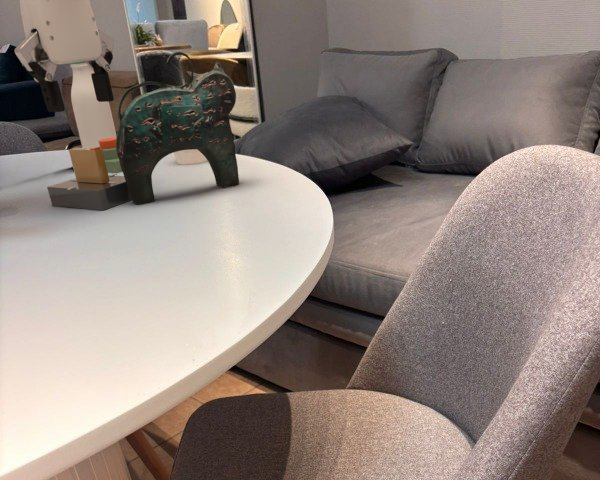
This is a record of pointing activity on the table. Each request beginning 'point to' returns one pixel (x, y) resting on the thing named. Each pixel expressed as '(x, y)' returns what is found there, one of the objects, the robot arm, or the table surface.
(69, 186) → the base
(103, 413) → the table surface
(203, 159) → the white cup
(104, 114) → the milk bottle
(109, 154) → the dispenser
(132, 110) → the ceramic cat
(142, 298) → the table surface
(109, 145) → the dispenser button
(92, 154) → the yellow rectangular block
